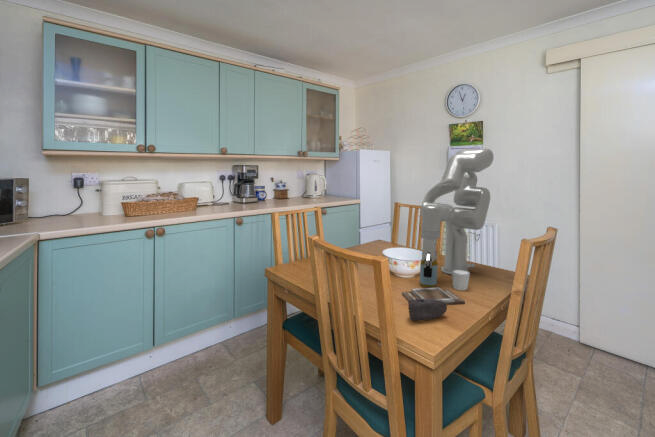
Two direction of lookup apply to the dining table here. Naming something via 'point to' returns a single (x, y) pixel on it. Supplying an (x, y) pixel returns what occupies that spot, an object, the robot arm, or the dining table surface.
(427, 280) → the bottle
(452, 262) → the robot arm
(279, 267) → the dining table surface
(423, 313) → the perforated stone tool
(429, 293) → the dark rectangular tray
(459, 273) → the white cylinder
